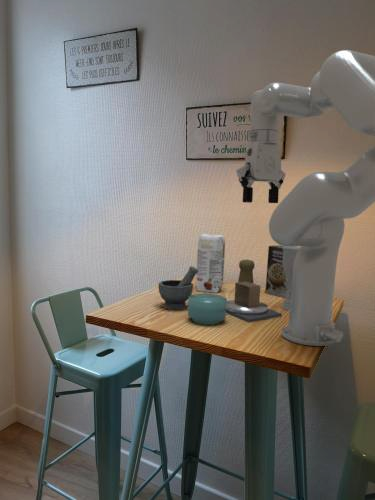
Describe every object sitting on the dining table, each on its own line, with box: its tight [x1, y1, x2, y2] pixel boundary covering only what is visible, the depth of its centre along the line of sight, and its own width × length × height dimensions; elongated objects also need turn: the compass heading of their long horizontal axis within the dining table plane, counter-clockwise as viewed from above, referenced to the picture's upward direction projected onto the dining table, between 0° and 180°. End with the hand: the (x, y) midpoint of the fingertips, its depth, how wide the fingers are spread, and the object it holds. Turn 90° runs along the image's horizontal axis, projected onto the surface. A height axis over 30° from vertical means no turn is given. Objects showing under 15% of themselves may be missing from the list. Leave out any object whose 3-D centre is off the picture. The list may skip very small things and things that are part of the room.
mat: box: [226, 308, 283, 323], centre depth 123 cm, size 17×12×1 cm
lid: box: [226, 281, 269, 315], centre depth 122 cm, size 12×12×7 cm
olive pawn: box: [237, 259, 255, 284], centre depth 146 cm, size 6×6×11 cm
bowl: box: [187, 293, 228, 326], centre depth 113 cm, size 10×10×6 cm
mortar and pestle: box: [158, 266, 198, 311], centre depth 124 cm, size 11×9×12 cm
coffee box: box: [265, 244, 290, 299], centre depth 144 cm, size 9×6×16 cm
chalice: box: [280, 246, 301, 311], centre depth 128 cm, size 7×7×18 cm
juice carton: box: [195, 233, 226, 294], centre depth 145 cm, size 8×9×19 cm
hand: (260, 202), depth 118 cm, fingers open, 9 cm apart
